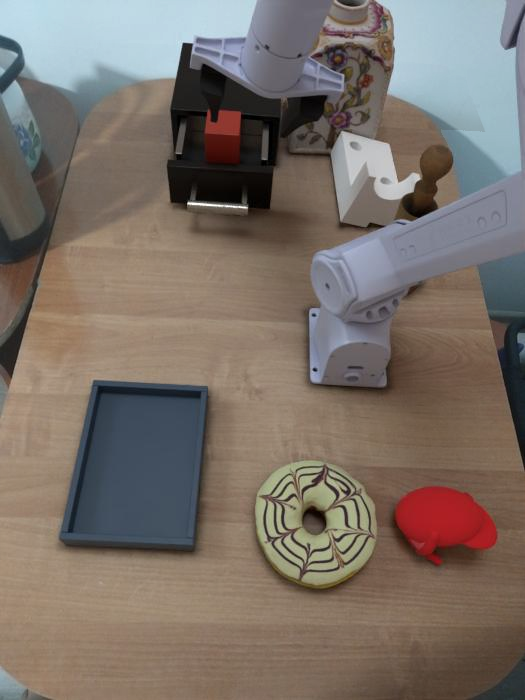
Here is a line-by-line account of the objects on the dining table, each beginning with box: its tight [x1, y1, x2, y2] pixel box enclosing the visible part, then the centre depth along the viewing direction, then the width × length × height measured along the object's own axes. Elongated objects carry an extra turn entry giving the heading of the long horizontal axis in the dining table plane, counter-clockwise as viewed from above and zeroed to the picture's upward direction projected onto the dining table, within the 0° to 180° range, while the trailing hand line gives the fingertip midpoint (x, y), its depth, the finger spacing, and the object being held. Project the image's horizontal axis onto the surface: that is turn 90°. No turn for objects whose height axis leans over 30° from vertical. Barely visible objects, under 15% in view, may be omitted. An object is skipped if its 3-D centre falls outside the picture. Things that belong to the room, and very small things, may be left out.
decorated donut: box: [254, 459, 378, 589], centre depth 49 cm, size 10×11×4 cm
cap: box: [394, 485, 499, 566], centre depth 48 cm, size 8×6×6 cm
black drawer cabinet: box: [169, 42, 282, 167], centre depth 76 cm, size 15×14×8 cm
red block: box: [205, 109, 241, 164], centre depth 69 cm, size 4×4×7 cm
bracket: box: [330, 131, 422, 228], centre depth 71 cm, size 13×7×8 cm, turn 2°
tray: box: [58, 379, 209, 552], centre depth 52 cm, size 15×11×2 cm
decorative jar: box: [286, 0, 396, 156], centre depth 72 cm, size 12×12×18 cm
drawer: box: [166, 115, 275, 217], centre depth 70 cm, size 18×12×6 cm
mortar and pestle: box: [393, 143, 454, 295], centre depth 59 cm, size 7×6×18 cm
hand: (249, 122), depth 61 cm, fingers open, 7 cm apart
